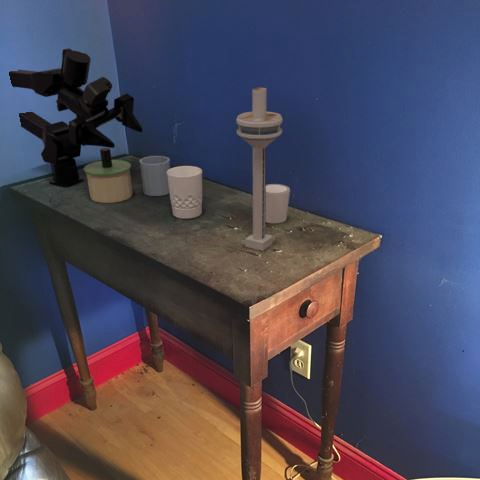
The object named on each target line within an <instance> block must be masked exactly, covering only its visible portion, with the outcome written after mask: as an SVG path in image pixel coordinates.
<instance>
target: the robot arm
mask: <svg viewBox="0 0 480 480" xmlns="http://www.w3.org/2000/svg"><path fill="white" fill-rule="evenodd" d="M61 54H62V55H61V57H62V59H61V67H58V68H51V69H47V70H42V71H36V70H26V69H18V71H10V72H9V76H10V80H11V84H12V86H13V87H14V88H20V89H28V90H32V91H33V92H34V93H35V94H37V95H39V96H42V97H44V98H49V97H53V96H57V98H56V100H55V103H56V109H57V111H58V112H63V111H66V110H67V111H68V110H69V111H70V112H72V113H73V114H74V115H75V118H74V119H72V120H69V121H68V123H66V122H65V121H63V120H61V121H58V122H57V121H56V122H53V123H51V122H49V121H48V120H46V119H44V118H43V117H41V116H40V115H39V114H36V113H35V112H33V111H32V112H26V113H19V117H20V122H21V126H20V128H22V129H24V130H25V131H27V132H29V133H30V134H32V135H33V136H35V137H37V138H38V139H39V140H41V141H42V144H43V149H42V150H41V153H40V155H41V158H42V161H43V162H44V163H48V164H50V169H51V173H52V178H53V179H52V180H49V184H50V185H51V184H52V185H55V186H61V187H63V188H65V187H66V188H67V187H70V186H73V185H74V184H77V183H79V182H82V181H84V178H83V177H80V175H79V169H78V165H77V162H76V158H79V157H81V154H82V153H81V152H82V146H83V147H85V146H91V147H92V146H94V147H102V148H110V149H114V148H115V146H116V145H115V143H114V141H112V140H111V138H109V137H108V136H107V135H105V134H104V133H103V132H101V130H99V129H97V128H99V127H101V126H103V125H105V124H107V123H109V122H111V121H113V120H115V121H117V122H118V123H121V125H122V126H124V127H126V128H128V129H130V130H133V131H135V132H139V133H142V132H143V127H142V125H141V124H140V122H139V120H138V119H137V118H136V116H135V114H134V102H135V97H134V96H132V95H130V94H129V93H128V92H126V93H124V94H122V95H120V96H118V97H116V98H114V99H113V107H112V108H110V109H109V108H108V106H109V100H108V99H106V98H107V97H108V94H109V93H110V92H111V91H112V89H113V83H112V82H111V81H110V80H109V79H108V78H106V77H105V76H101V77H99V78H98V79H96V80H93V81H92V82H90V83H88V79H89V73H90V72H89V71H90V66H91V57H90V55H88V54H87V53H85V52H81V51H77V50H72V48H64V49H62V53H61ZM87 83H88V84H87ZM83 86H85V87H84V89H83V88H82V87H83Z"/></svg>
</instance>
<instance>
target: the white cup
mask: <svg viewBox="0 0 480 480" xmlns="http://www.w3.org/2000/svg"><path fill="white" fill-rule="evenodd" d="M170 168H171V169H169V170H168V171H167V179H168V186H169V199H170V204H171V208H172V216H173V217H175V218H177V219H183V220H186V219H187V220H189V219H195V218H198V217H200V216H201V215H202V214H203V170H202V168H200V167H199V166H194V165H181V166H180V165H179V166H175V167H170Z"/></svg>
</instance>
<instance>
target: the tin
mask: <svg viewBox="0 0 480 480" xmlns="http://www.w3.org/2000/svg"><path fill="white" fill-rule="evenodd" d="M85 174H86V179H87V185H88V190H89V192H88V193H89V197H90V199H91V201H93V202H96V203H100V204H113V203H114V204H115V203H119V202H123V201H126V200H128V199H130V198H131V197H132V196H133V186H132V178H131V177H132V176H131V169H130V170H128V171H126V172H124V173H121V174H116V175H109V176H95V175H90V174H87V173H85Z"/></svg>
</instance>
